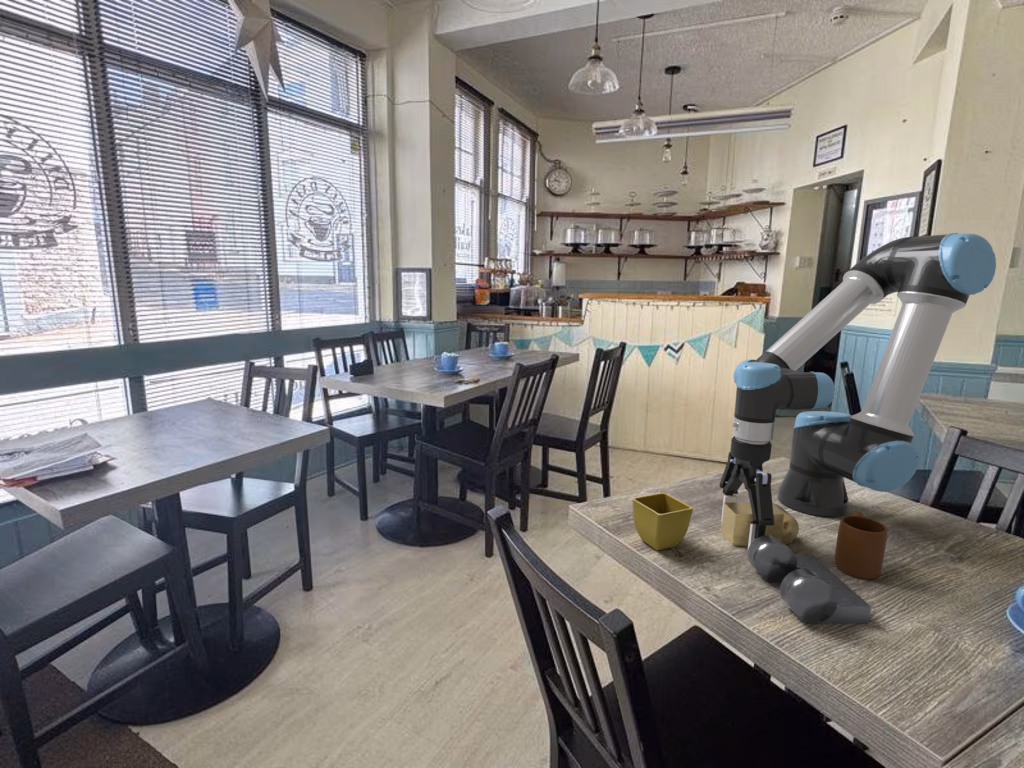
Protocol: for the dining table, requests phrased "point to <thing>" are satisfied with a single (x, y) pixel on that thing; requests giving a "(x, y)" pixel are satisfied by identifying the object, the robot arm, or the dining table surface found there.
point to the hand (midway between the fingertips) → (740, 537)
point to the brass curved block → (741, 516)
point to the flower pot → (661, 520)
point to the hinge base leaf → (807, 584)
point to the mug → (860, 546)
